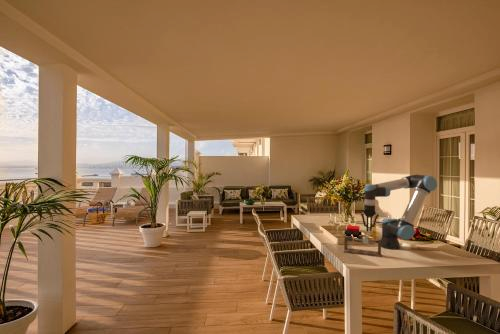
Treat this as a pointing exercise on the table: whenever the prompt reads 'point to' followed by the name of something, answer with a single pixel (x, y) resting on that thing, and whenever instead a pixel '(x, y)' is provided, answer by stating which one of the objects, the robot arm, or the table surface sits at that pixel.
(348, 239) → the rod
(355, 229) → the red-and-black block model
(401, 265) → the table surface
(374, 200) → the robot arm
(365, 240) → the cream t-shaped block
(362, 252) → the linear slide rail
